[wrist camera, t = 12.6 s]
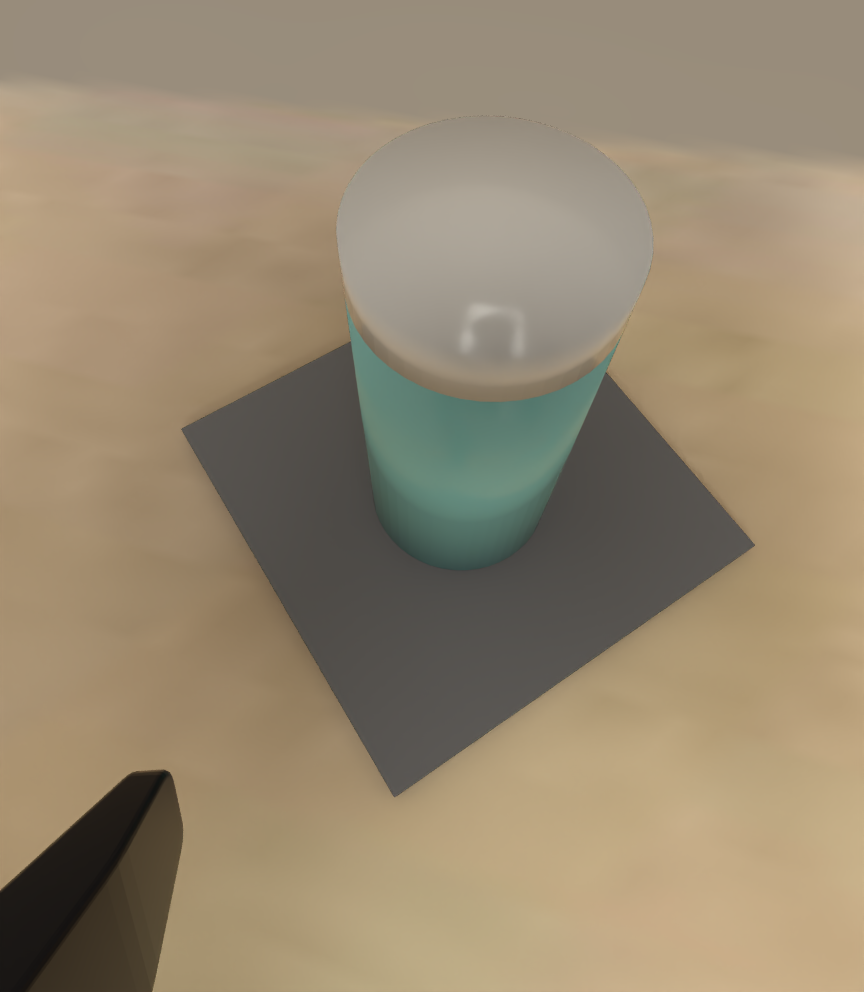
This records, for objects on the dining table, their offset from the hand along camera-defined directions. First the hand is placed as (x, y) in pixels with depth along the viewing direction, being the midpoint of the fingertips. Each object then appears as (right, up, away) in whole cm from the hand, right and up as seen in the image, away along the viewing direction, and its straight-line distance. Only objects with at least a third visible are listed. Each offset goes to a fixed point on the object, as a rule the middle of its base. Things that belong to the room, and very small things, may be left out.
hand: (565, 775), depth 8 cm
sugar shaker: (-1, +3, +12) cm, 13 cm away
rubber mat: (-1, +3, +13) cm, 13 cm away
